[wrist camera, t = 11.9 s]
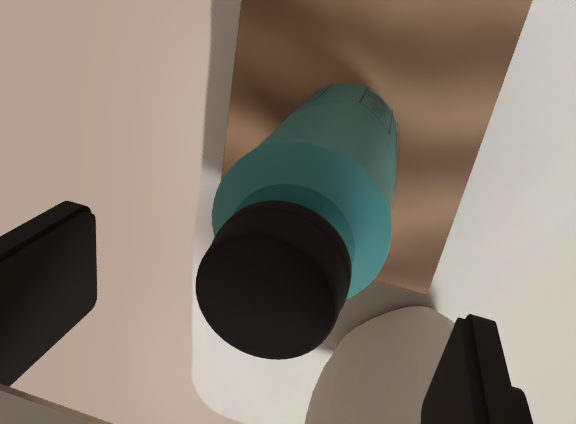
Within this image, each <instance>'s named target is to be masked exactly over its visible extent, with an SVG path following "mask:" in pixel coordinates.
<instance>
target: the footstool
mask: <svg viewBox="0 0 576 424" xmlns="http://www.w3.org/2000/svg"><path fill="white" fill-rule="evenodd" d="M531 3H532V0H242V2H241V11H240V20H239V29H238V37H237V46H236V55H235V63H234V72H233V81H232V89H231V98H230V107H229V115H228V124H227V133H226V141H225V150H224V159H223V167H222V176H221V181H222V179H223V177H224V176H225V174H226V173H227V172H228V170H229V169H230V168H231V167H232V166H233V165H234V164H235V163H236V162H237V161H238V160H239V159H240V158H241V157H243V156H244V155H246V154H247V153H248V152H250V151H252V150H254V149H255V148H256V147H257V146H258V145H259V144H260V143H261V142H263V141H264V139H266V138H267V137H268V136H269V135H270V134H271V133H273V132H274V131H275V130H276V128H277V127H278V126H279V125H280V124H281V123H282V122H284V121H285V120H286V119H287V118H288V117H289V116H290V115H291V114H292V113H293V112H295V111H296V110H297V108H299V107H300V106H301V105H302V104H304V103H305V102H306V101H307V100H308V99H309V98H310V97H311V95H312V96H313V95H314V94H315V93H316V92H318V91H320V89H319V88H321V90H322V89H324V88H327V87H329V86H330V85H331V83H333V84H332V85H331V86H333V85H339V84H352V85H358V86H362V87H364V88H368V87H370V88H368V89H369V90H371V91H373V92H374V93H376V94H377V95H378V94H379V95H378V96H381V98H383V100H385V103H386V102H387V101H388V102H387V103H386V104H387V105H388V106H389V108H390V110H393V116H394V118H395V121H396V125H397V123H398V124H399V125H398V126H397V136H398V132H400V133H399V136H398V138H397V153H396V172H395V174H396V175H395V179H396V178H397V179H396V180H395V182H396V183H395V184H396V185H397V186H396V185H394V188H395V189H394V191H395V192H393V199H392V207H393V208H392V211H391V224H392V236H391V243H390V249H389V252H388V255H387V258H386V261H385V263H384V265H383V267H382V269H381V270H380V272H379V273H378V275H377V276H376V278H375V279H374V280H375V281H379V282H383V283H386V284H390V285H394V286H397V287H401V288H405V289H408V290H412V291H415V292H419V293H423V294H426V295H427V293H428V290H429V288H430V285H431V282H432V279H433V276H434V274H435V271H436V268H437V265H438V262H439V260H440V257H441V254H442V251H443V248H444V246H445V243H446V240H447V237H448V235H449V232H450V229H451V226H452V223H453V221H454V218H455V215H456V212H457V209H458V207H459V204H460V201H461V198H462V195H463V193H464V190H465V187H466V184H467V182H468V179H469V176H470V173H471V170H472V168H473V165H474V162H475V159H476V156H477V154H478V151H479V148H480V145H481V143H482V140H483V137H484V134H485V131H486V129H487V126H488V123H489V120H490V117H491V115H492V112H493V109H494V106H495V103H496V101H497V98H498V95H499V92H500V90H501V87H502V84H503V81H504V78H505V76H506V73H507V70H508V67H509V64H510V62H511V59H512V56H513V53H514V50H515V48H516V45H517V42H518V39H519V37H520V34H521V31H522V28H523V25H524V23H525V20H526V17H527V14H528V11H529V9H530V6H531ZM327 84H328V85H327ZM371 88H372V89H371ZM316 89H317V90H318V91H317V90H316ZM314 91H315V92H314ZM376 91H377V92H376ZM311 93H312V94H311ZM380 94H381V95H380ZM308 95H310V96H308ZM307 96H308V97H309V98H306V97H307ZM305 99H306V101H305ZM301 101H302V102H301ZM300 102H301V103H300ZM299 103H300V104H299ZM299 105H300V106H299ZM390 105H391V106H390ZM294 107H295V108H294ZM296 107H297V108H296ZM293 108H294V109H293ZM392 108H393V109H392ZM396 116H397V117H396ZM279 120H280V121H279ZM397 120H398V121H397ZM398 127H400V128H398ZM268 133H269V134H268ZM399 140H400V141H399ZM399 145H400V146H399ZM399 147H400V149H399ZM398 152H399V153H398ZM398 155H399V156H398ZM397 158H398V159H397ZM398 166H399V167H398ZM398 168H399V169H398ZM397 182H398V183H397ZM395 186H396V187H395ZM397 190H398V191H397ZM395 198H396V199H395ZM394 202H395V203H394Z"/></svg>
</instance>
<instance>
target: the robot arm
mask: <svg viewBox="0 0 576 424" xmlns="http://www.w3.org/2000/svg"><path fill="white" fill-rule="evenodd" d="M96 268H97V265H96V220H95V216H94V214H92V213H91V210H90V208H89V207H87V206H84V205H81V204H77V203H74V202H70V201H64V202H62V203H60V204H58V205H56V206H55V207H53V208H51V209H49V210H47V211H46V212H44V213H42V214H40V215H38V216H36V217H35V218H33V219H31V220H29V221H27V222H26V223H24V224H22V225H20V226H18V227H17V228H15V229H13V230H11V231H9V232H8V233H6V234H4V235H2V236H0V424H112V423H109V422H106V421H104V420H101V419H98V418H95V417H93V416H90V415H87V414H84V413H81V412H79V411H76V410H73V409H70V408H67V407H64V406H62V405H59V404H56V403H53V402H50V401H48V400H45V399H42V398H39V397H36V396H33V395H30V394H28V393H25V392H22V391H19V390H16V389H13V388H10V386H11V385H12V384H13V383H14V382H15V381H16V380H17V379H18V378H19V377H20V376H21V375H22V374H23V373H24V372H25V371H27V370H28V369H29V368H30V367H31V366H32V365H33V364H34V363H35V362H36V361H37V360H38V359H40V357H42V356H43V355H44V354H45V353H46V352H47V351H48V350H49V349H50V348H51V347H52V346H53V345H54V344H55V343H57V342H58V341H59V340H60V339H61V338H62V337H63V336H64V335H65V334H66V333H67V332H68V331H70V330H71V329H72V328H73V327H74V326H75V325H76V324H77V323H78V322H79V321H80V320H81V319H82V318H83V317H84V316H86V315H87V313H89V312H90V311H91V310H92V308H93V307H94V305H95V303H96V300H97V269H96ZM421 424H533V421H532V417H531V414H530V410H529V406H528V403H527V399H526V396H525V394H524V392H523V391H522V390H521V389H519V388H515V387H512V386H511V382H510V378H509V374H508V370H507V365H506V361H505V357H504V353H503V349H502V345H501V341H500V337H499V333H498V329H497V325H496V322H495V321H493V320H489V319H486V318H482V317H479V316H475V315H472V314H469V315H468V316H467V317H466V319H463V318H458V319H457V320H456V322H455V324H454V327H453V329H452V332H451V334H450V337H449V339H448V342H447V344H446V346H445V349H444V351H443V354H442V356H441V359H440V361H439V364H438V366H437V368H436V371H435V373H434V376H433V378H432V381H431V383H430V386H429V388H428V390H427V393H426V395H425V398H424V401H423V404H422V409H421Z"/></svg>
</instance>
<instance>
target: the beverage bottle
mask: <svg viewBox="0 0 576 424" xmlns="http://www.w3.org/2000/svg"><path fill="white" fill-rule="evenodd" d="M332 84H333V83H331V85H332ZM327 85H328V84H327ZM331 85H330V86H329V87H327V88H324V89H322V90H321V88H319V89H320V91H318V90H317V89H316V90H317V91H318V92H316V93H315V94H314V95H313V96H312V95H311V97H310V98H309V97H308V96H310V95H308V96H307V97H306V98H309V99H308V100H307V101H306V99H305V101H306V102H305V103H304V104H302V105H301V106H300V105H299V106H300V107H299V108H297V107H296V108H297V110H296V111H295V112H293V113H292V114H291V115H290V116H289V117H288V118H287V119H286V120H285V121H284V122H282V123H281V124H280V125H279V126H278V127H277V128H276V130H275V131H274V132H273V133H271V134H270V135H269V136H268V137H267V138H266V139H264V141H263V142H261V143H260V144H259V145H258V146H257V147H256V148H255V149H254V150H252V151H250V152H248V153H247V154H246V155H244V156H243V157H241V158H240V159H239V160H238V161H237V162H236V163H235V164H234V165H233V166H232V167H231V168H230V169H229V170H228V172H227V173H226V174H225V176H224V177H223V179H222V181H221V183H220V185H219V187H218V189H217V192H216V195H215V199H214V204H213V210H212V225H213V232H214V236H215V238H214V240H213V242H212V244H211V246H210V247H209V249H208V250H207V252H206V253H205V255H204V257H203V258H202V260H201V263H200V265H199V268H198V272H197V276H196V296H197V300H198V304H199V307H200V309H201V311H202V314H203V316H204V317H205V319H206V321H207V322H208V324H209V325H210V326H211V328H212V329H213V330H214V331H215V332H216V333H217V334H218V335H219V336H220V337H221V338H222V339H223V340H224V341H226V342H227V343H228V344H230V345H231V346H233V347H235V348H236V349H238V350H240V351H242V352H245V353H247V354H250V355H253V356H256V357H260V358H266V359H277V360H280V359H290V358H295V357H298V356H302V355H304V354H306V353H308V352H310V351H312V350H314V349H315V348H317V347H318V346H319V345H320V344H321V343H322V342H323V341H324V340H325V339H326V338H327V336H328V335H329V334H330V332H331V331H332V329H333V327H334V325H335V323H336V320H337V317H338V315H339V312H340V310H341V308H342V307H343V305H344V303H345V301H346V300H347V299H350V298H351V297H353V296H355V295H356V294H358V293H359V292H361V291H362V290H363V289H364V288H366V287H367V286H368V285H369V284H370V283H371V282H372V281H373V280H374V279H375V278H376V276H377V275H378V273H379V272H380V270H381V269H382V267H383V265H384V263H385V261H386V258H387V255H388V252H389V249H390V243H391V236H392V224H391V211H392V208H393V207H392V199H393V192H395V191H394V189H395V188H394V185H396V184H395V183H396V182H395V180H396V179H397V178H396V179H395V175H396V174H395V172H396V153H397V138H398V136H399V133H400V132H398V136H397V126H398V125H399V124H398V123H397V125H396V121H395V118H394V116H393V110H390V108H389V106H388V105H387V104H386V103H387V102H388V101H387V102H386V103H385V100H383V98H381V96H378V95H379V94H378V95H377V94H376V93H374V92H373V91H371V90H369V89H368V88H370V87H368V88H364V87H362V86H358V85H352V84H339V85H333V86H331ZM371 89H372V88H371ZM314 92H315V91H314ZM376 92H377V91H376ZM311 94H312V93H311ZM380 95H381V94H380ZM301 102H302V101H301ZM301 102H300V103H301ZM300 103H299V104H300ZM390 106H391V105H390ZM294 108H295V107H294ZM294 108H293V109H294ZM392 109H393V108H392ZM396 117H397V116H396ZM279 121H280V120H279ZM397 121H398V120H397ZM398 128H400V127H398ZM268 134H269V133H268ZM399 141H400V140H399ZM399 146H400V145H399ZM399 149H400V147H399ZM398 153H399V152H398ZM398 156H399V155H398ZM397 159H398V158H397ZM398 167H399V166H398ZM398 169H399V168H398ZM397 183H398V182H397ZM396 186H397V185H396ZM396 186H395V187H396ZM397 191H398V190H397ZM395 199H396V198H395ZM394 203H395V202H394Z"/></svg>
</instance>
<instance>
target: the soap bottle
mask: <svg viewBox="0 0 576 424" xmlns="http://www.w3.org/2000/svg"><path fill="white" fill-rule="evenodd" d="M454 324H455V323H454V322H453V321H452V320H450V319H449V318H447V317H445V316H443V315H442V314H440V313H438V312H437V311H435V310H433V309H432V308H429V307H423V306H413V307H405V308H401V309H397V310H393V311H390V312H388V313H385V314H382V315H380V316H377V317H375V318H372V319H371V320H369V321H367V322H365V323H363V324H361V325H359V326H357V327H356V328H355V329H353V330H352V331H350V332H349V333H348V334H346V335H345V336H344V338H343V339H342V340H341V341H340V342H339V344H338V346H337V348H336V349H335V351H334V353H333V355H332V356H331V358H330V359H329V361H328V362H327V363H326V365H325V366H324V368H323V370H322V372H321V375H320V377H319V379H318V382H317V384H316V386H315V388H314V391H313V393H312V397H311V400H310V404H309V407H308V411H307V415H306V420H305V424H421V409H422V404H423V401H424V398H425V395H426V393H427V390H428V388H429V386H430V383H431V381H432V378H433V376H434V373H435V371H436V368H437V366H438V364H439V361H440V359H441V356H442V354H443V351H444V349H445V346H446V344H447V342H448V339H449V337H450V334H451V332H452V329H453V327H454Z"/></svg>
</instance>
